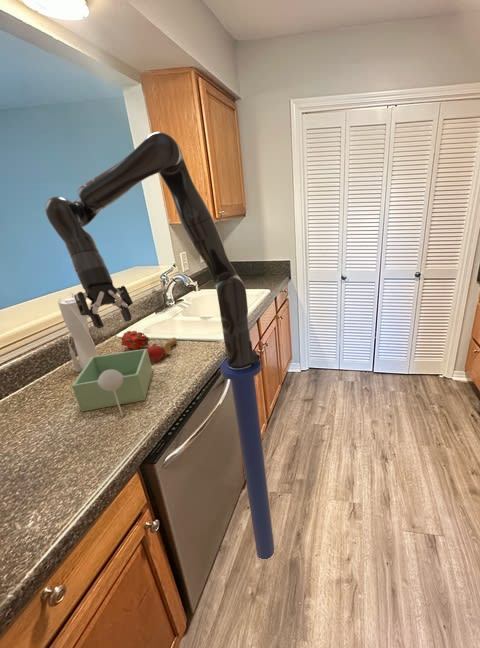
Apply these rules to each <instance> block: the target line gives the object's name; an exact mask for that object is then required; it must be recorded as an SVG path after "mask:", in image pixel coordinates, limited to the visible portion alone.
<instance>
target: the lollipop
mask: <svg viewBox="0 0 480 648" xmlns="http://www.w3.org/2000/svg"><path fill="white" fill-rule="evenodd" d="M122 383H123V375H122V374H121V373H120V372H119V371H117V370H113V369H110V370H106V371H104V372H103V373H101V375H100V376H99V379H98V385H99V386H100V387H101V388H102V389H103V390H106V391H113V392H114V395H115V398H116V401H117V404H118V405H117V407H118V410H119V413H120V416H121V418H123V417H124V413H123V410H122V407H121V404H119V401H118V398H117V395H116V392H115V390H116V389H118V388H119V387H120V386H121V385H122Z"/></svg>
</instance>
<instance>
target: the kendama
mask: <svg viewBox="0 0 480 648" xmlns="http://www.w3.org/2000/svg"><path fill="white" fill-rule="evenodd" d="M177 343H178V339H177V338H176V337H171V338H170V339H169V340H167V341H166V342H164V343H163V344H162V345H158V344H157V343H151V344H150V345H149V347H147V348H146V349H147V351H148V355H149V358H150V362H151V361H152V362H158V361H160V360H161V359H162V358H163V356H164V354H165V355H168V354H170V353H171V351H172V347H173V346H175V345H177Z"/></svg>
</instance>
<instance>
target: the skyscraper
mask: <svg viewBox="0 0 480 648" xmlns="http://www.w3.org/2000/svg"><path fill="white" fill-rule="evenodd" d="M68 295H69V296H70V295H71V297H70V298H65V299H64V300H63V301H61V300H62V299H63V298H64V297H66V296H68ZM74 295H75V293H74V292H67V293H65V294H63V295H61V296H60V298H59V299H58V301H57V304H58V307H59V310H60V313H61V316H62V318H63V321H64V324H65V326H66V328H67V330H68V332H69V334H70V335H71V337H72V338H73V343H74V346H75V347H74V348H75V350H76V352H75V350H73V348H72V345H71V343H70V340H69V339H67V340H66V341H67V346H68V348H69V354H70V356H71V361H72V365H73V367H74V370H75V371H74V373H76V374H77V373H78V374H80V373H81V372H82V370H83V369H84V367H85V366H86V364H87V363H88V361H89V360H90V359H91V357H94V356H100V355H99V351H98V349H97V347H96V345H95V342H94V340H93V338H92V336H91V334H90V330H89V321H88V316H87V315H84V316H82V315H81V314H80V311H79V308H78V306H77V303H76V300H75V298H74ZM75 353H76V354H77V355H76V354H75Z"/></svg>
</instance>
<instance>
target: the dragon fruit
mask: <svg viewBox="0 0 480 648" xmlns="http://www.w3.org/2000/svg"><path fill="white" fill-rule="evenodd" d="M120 340H121V343H120V345H121V346H124V347H126V348H127V349H128V351H132V349H134V350H141V349H145V347H144V346H147V345H149V342H150V341H151V340H150V337H148V336H147V335H145V333H144V332H139V331H136V330H132V331H131V330H127V331H126V332H124V333H123V334H122V337H121V339H120Z"/></svg>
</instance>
